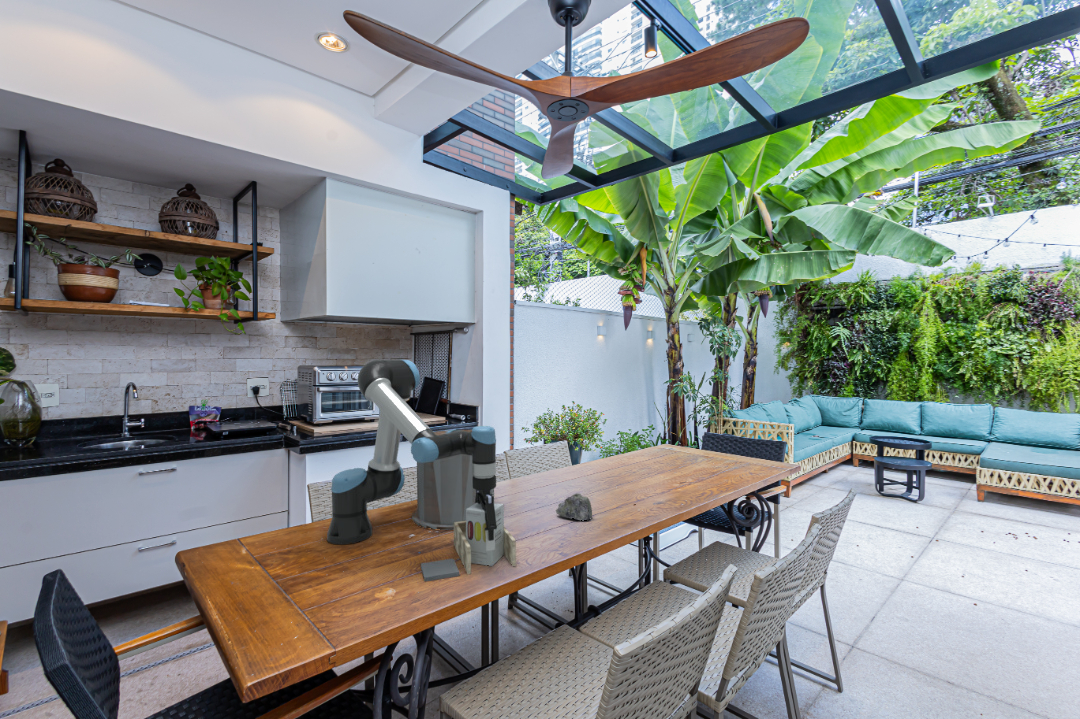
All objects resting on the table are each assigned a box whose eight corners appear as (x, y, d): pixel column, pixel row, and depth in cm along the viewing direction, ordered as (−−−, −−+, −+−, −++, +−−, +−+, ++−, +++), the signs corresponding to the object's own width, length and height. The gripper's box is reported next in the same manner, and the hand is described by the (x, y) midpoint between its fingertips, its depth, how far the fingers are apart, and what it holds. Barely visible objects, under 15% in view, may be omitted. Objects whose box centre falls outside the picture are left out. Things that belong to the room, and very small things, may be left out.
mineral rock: (554, 516, 194) (554, 491, 194) (574, 511, 200) (574, 486, 200) (575, 525, 184) (575, 499, 183) (596, 519, 190) (596, 494, 190)
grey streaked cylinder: (427, 537, 173) (426, 447, 172) (401, 510, 203) (400, 433, 202) (514, 519, 190) (513, 437, 190) (479, 497, 221) (478, 426, 220)
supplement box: (464, 562, 152) (464, 509, 152) (478, 551, 161) (477, 500, 160) (492, 566, 149) (492, 512, 148) (504, 554, 157) (504, 503, 157)
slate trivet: (420, 567, 149) (420, 563, 149) (453, 562, 152) (453, 558, 152) (424, 581, 139) (424, 577, 139) (459, 575, 143) (459, 571, 143)
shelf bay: (453, 545, 165) (453, 522, 165) (496, 539, 170) (496, 516, 170) (467, 574, 144) (467, 547, 144) (516, 566, 149) (515, 540, 149)
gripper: (506, 483, 144) (507, 555, 144) (486, 466, 167) (487, 527, 167) (481, 486, 141) (482, 559, 142) (464, 468, 165) (465, 530, 165)
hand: (485, 542), depth 155 cm, fingers closed on supplement box, 13 cm apart
